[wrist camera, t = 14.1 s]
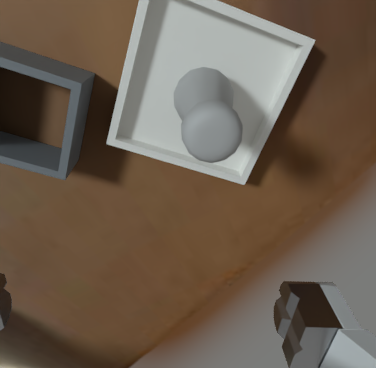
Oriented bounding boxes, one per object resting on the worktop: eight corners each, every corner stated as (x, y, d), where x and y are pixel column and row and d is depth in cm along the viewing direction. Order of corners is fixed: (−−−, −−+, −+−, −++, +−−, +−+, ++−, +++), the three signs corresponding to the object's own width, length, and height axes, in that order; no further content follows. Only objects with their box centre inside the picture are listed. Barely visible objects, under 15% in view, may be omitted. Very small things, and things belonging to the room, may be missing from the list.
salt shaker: (237, 70, 31) (269, 105, 20) (222, 124, 34) (243, 183, 23) (179, 57, 30) (179, 86, 19) (168, 114, 33) (163, 168, 22)
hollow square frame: (78, 159, 37) (64, 180, 32) (-14, 133, 35) (-42, 151, 30) (95, 73, 32) (81, 83, 28) (-11, 37, 30) (-43, 42, 26)
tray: (240, 174, 38) (244, 185, 36) (110, 135, 35) (106, 144, 33) (305, 37, 31) (315, 40, 29) (148, -26, 28) (145, -29, 26)
